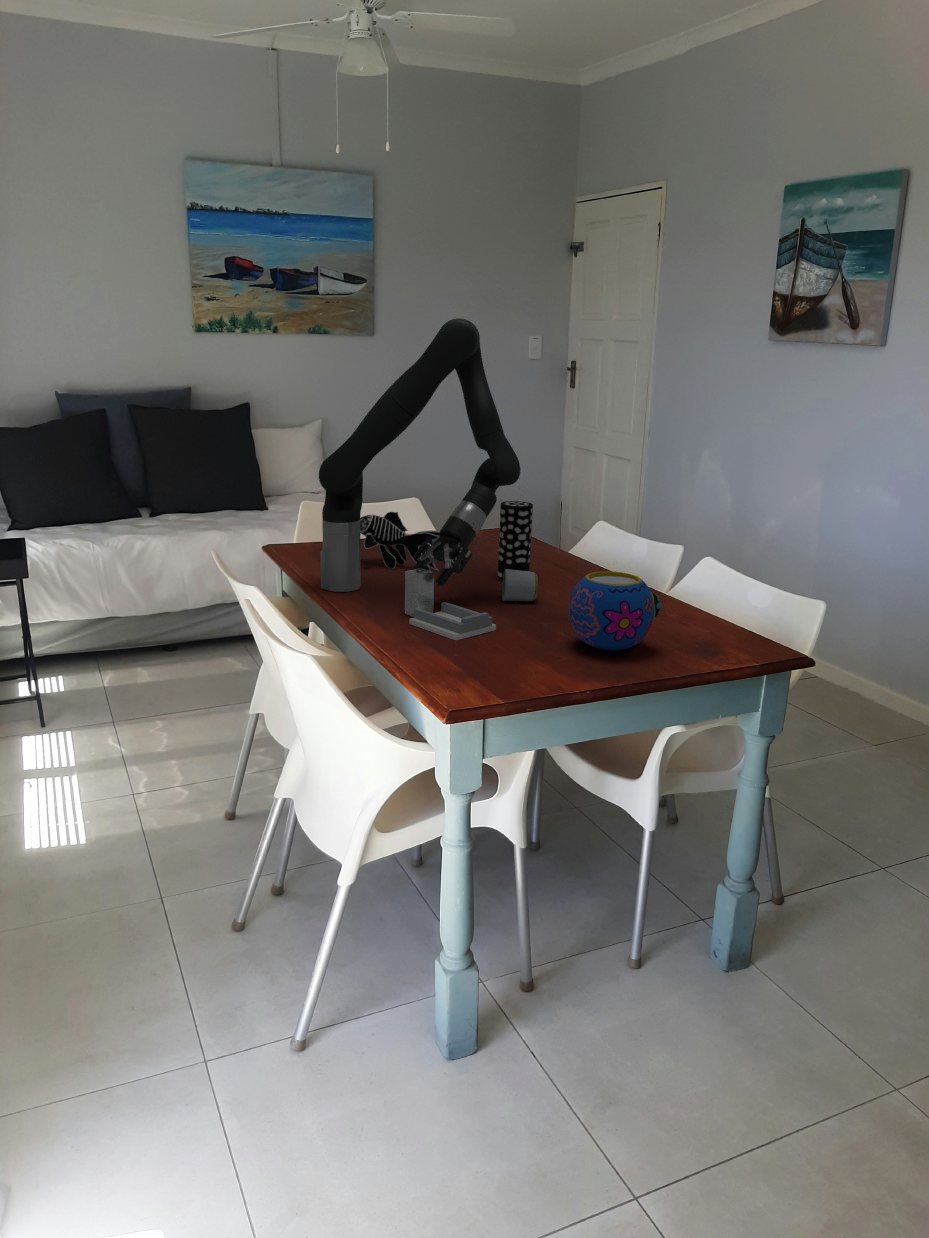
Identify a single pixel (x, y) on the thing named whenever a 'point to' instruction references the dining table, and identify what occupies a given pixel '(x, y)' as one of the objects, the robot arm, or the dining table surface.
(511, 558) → the spotted tube
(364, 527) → the decorative fish
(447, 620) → the grey open box
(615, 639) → the ceramic pot
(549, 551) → the dining table surface
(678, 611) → the dining table surface
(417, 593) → the aluminium block
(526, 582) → the ceramic mug
